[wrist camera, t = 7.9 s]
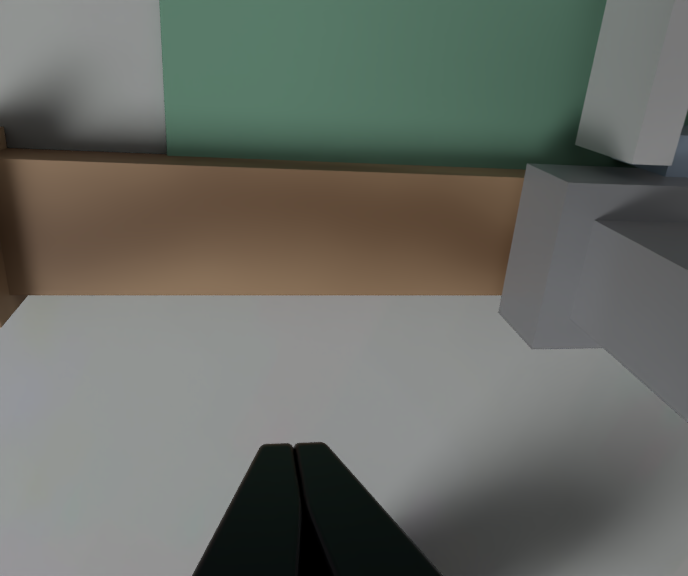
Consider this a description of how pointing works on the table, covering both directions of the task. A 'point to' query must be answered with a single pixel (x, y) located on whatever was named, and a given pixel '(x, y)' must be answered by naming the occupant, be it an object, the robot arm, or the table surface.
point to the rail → (248, 226)
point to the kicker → (614, 212)
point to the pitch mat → (381, 80)
